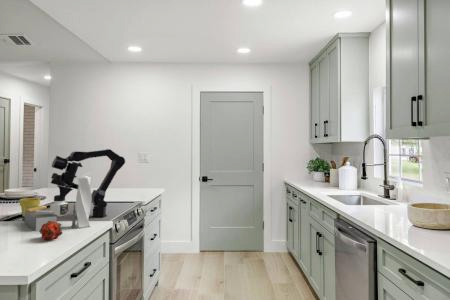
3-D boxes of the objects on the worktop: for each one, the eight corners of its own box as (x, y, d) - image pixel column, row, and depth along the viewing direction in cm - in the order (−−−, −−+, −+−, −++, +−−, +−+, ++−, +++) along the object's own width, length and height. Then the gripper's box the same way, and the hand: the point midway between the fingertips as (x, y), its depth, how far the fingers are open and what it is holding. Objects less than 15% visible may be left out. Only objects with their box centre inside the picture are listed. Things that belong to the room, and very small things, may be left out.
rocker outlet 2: (51, 213, 169) (52, 211, 169) (54, 214, 166) (54, 212, 166) (34, 212, 164) (34, 209, 164) (36, 213, 161) (37, 211, 161)
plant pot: (43, 214, 198) (43, 198, 198) (31, 217, 188) (32, 200, 188) (27, 213, 199) (28, 197, 199) (14, 217, 189) (15, 200, 189)
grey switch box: (45, 220, 181) (46, 209, 181) (57, 228, 165) (58, 215, 165) (24, 223, 174) (24, 210, 174) (34, 231, 158) (35, 217, 158)
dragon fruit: (53, 238, 152) (52, 249, 141) (36, 229, 148) (33, 239, 137) (65, 223, 153) (65, 233, 142) (49, 214, 149) (48, 223, 139)
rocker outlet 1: (44, 206, 179) (44, 205, 179) (46, 208, 176) (46, 206, 175) (28, 210, 173) (27, 208, 173) (30, 212, 170) (29, 210, 170)
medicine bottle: (60, 216, 194) (60, 196, 194) (49, 215, 196) (50, 195, 196) (68, 214, 201) (68, 194, 201) (57, 213, 203) (58, 194, 203)
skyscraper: (87, 224, 176) (89, 172, 176) (93, 227, 170) (95, 173, 170) (71, 226, 170) (73, 172, 170) (77, 229, 164) (79, 173, 164)
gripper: (68, 172, 197) (59, 197, 194) (47, 166, 179) (37, 193, 176) (84, 176, 195) (75, 202, 192) (65, 170, 177) (54, 199, 174)
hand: (60, 199), depth 183 cm, fingers closed
